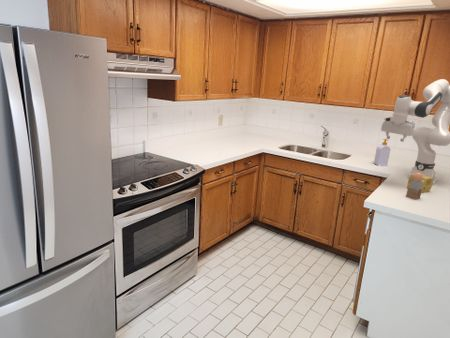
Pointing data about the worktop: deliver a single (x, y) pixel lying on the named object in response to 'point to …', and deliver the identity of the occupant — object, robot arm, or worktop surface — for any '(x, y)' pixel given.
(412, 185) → the grey block
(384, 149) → the soap bottle
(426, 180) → the cheese
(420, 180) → the peach brown rounded dome
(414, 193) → the walnut block
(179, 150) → the worktop surface
